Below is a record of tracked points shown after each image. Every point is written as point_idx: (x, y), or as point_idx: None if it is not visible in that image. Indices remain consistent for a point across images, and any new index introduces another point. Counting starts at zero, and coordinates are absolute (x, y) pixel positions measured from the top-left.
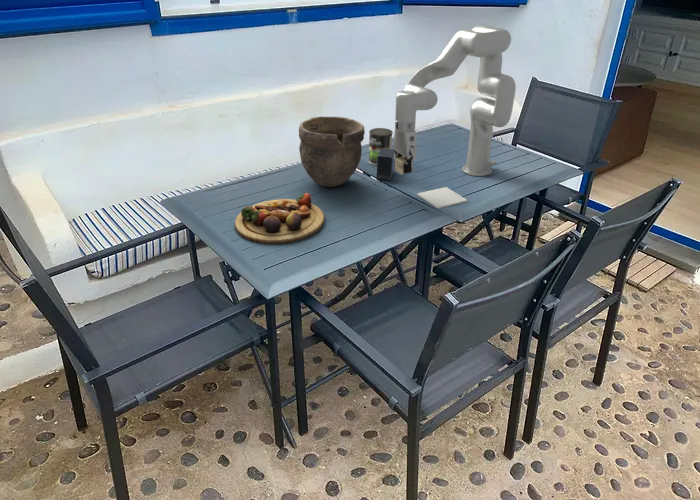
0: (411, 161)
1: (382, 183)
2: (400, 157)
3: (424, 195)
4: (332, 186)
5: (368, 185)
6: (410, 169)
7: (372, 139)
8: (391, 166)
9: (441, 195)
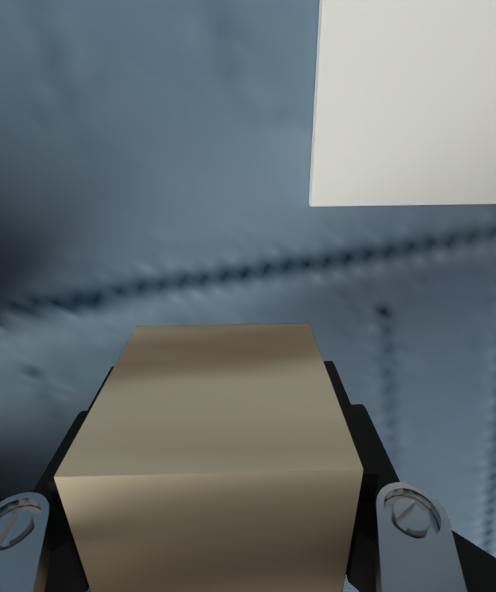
0: (493, 587)
1: (26, 322)
2: (107, 575)
3: (372, 173)
4: None
5: (37, 408)
6: (368, 417)
7: None
8: None
9: (462, 23)
